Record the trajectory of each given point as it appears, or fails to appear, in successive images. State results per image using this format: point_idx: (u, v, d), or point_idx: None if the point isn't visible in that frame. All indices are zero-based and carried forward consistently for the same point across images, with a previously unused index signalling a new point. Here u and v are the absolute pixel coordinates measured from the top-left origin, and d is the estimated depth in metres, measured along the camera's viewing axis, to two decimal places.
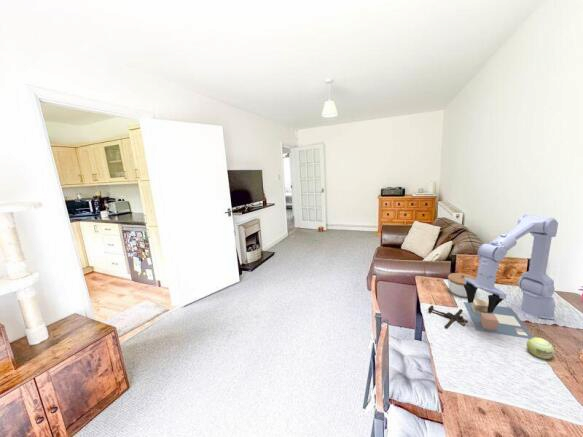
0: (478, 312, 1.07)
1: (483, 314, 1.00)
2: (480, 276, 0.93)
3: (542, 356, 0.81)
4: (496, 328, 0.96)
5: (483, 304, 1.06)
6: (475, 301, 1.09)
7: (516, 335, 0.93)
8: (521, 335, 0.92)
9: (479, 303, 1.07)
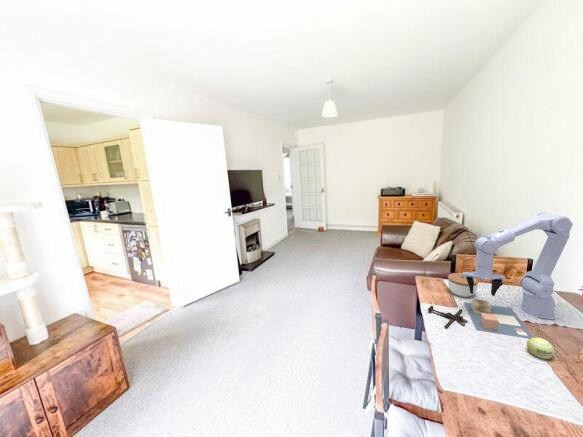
0: (478, 312, 1.07)
1: (483, 314, 1.00)
2: (485, 269, 1.02)
3: (542, 356, 0.81)
4: (496, 328, 0.96)
5: (483, 304, 1.06)
6: (475, 301, 1.09)
7: (516, 335, 0.93)
8: (521, 335, 0.92)
9: (479, 303, 1.07)
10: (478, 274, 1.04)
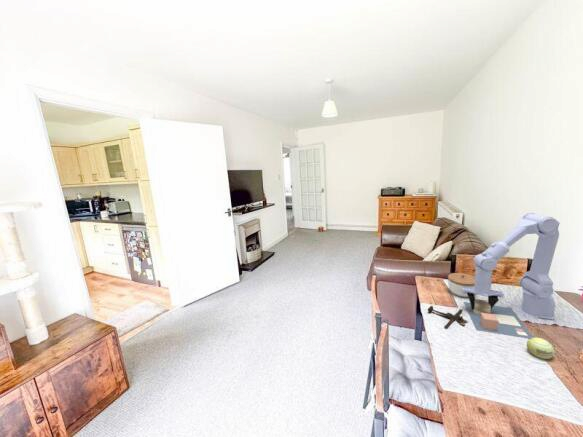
0: (478, 312, 1.07)
1: (483, 314, 1.00)
2: (484, 285, 1.04)
3: (542, 356, 0.81)
4: (496, 328, 0.96)
5: (483, 304, 1.06)
6: (475, 301, 1.09)
7: (516, 335, 0.93)
8: (521, 335, 0.92)
9: (479, 303, 1.07)
10: (477, 290, 1.06)
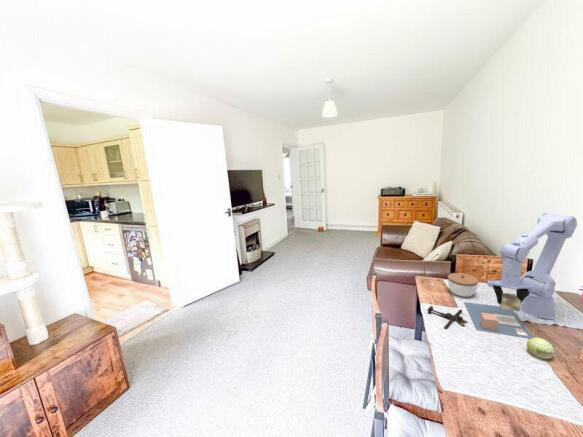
0: (506, 307, 0.98)
1: (483, 314, 1.00)
2: (513, 277, 0.95)
3: (542, 356, 0.81)
4: (496, 328, 0.96)
5: (511, 298, 0.98)
6: (502, 295, 1.01)
7: (516, 335, 0.93)
8: (521, 335, 0.92)
9: (507, 297, 0.99)
10: (505, 283, 0.98)
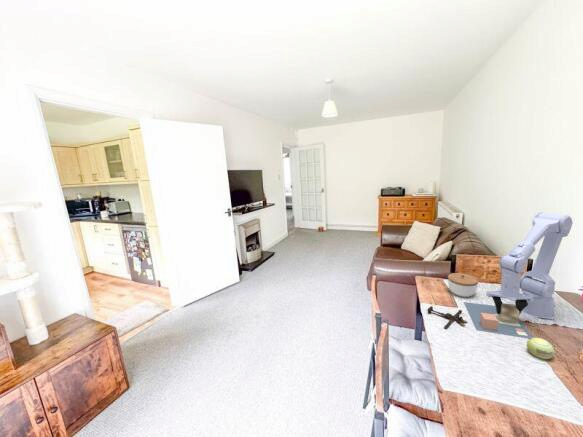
0: (505, 317, 0.99)
1: (483, 314, 1.00)
2: (512, 289, 0.96)
3: (542, 356, 0.81)
4: (496, 328, 0.96)
5: (510, 309, 0.99)
6: (501, 305, 1.02)
7: (516, 335, 0.93)
8: (521, 335, 0.92)
9: (506, 308, 1.00)
10: (504, 294, 0.99)
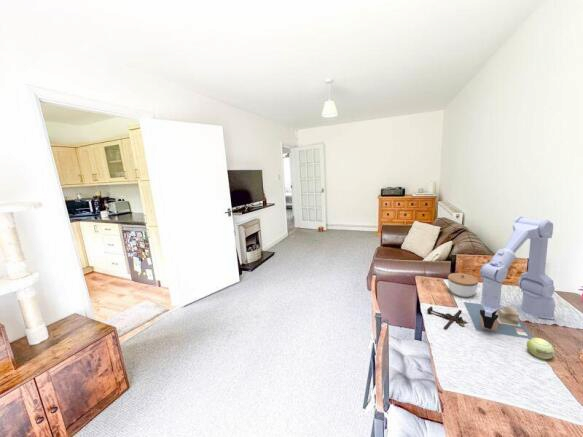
0: (505, 320, 1.00)
1: None
2: (500, 297, 0.94)
3: (542, 356, 0.81)
4: (496, 328, 0.96)
5: (510, 312, 0.99)
6: (501, 309, 1.02)
7: (516, 335, 0.93)
8: (521, 335, 0.92)
9: (506, 311, 1.00)
10: (495, 306, 0.94)
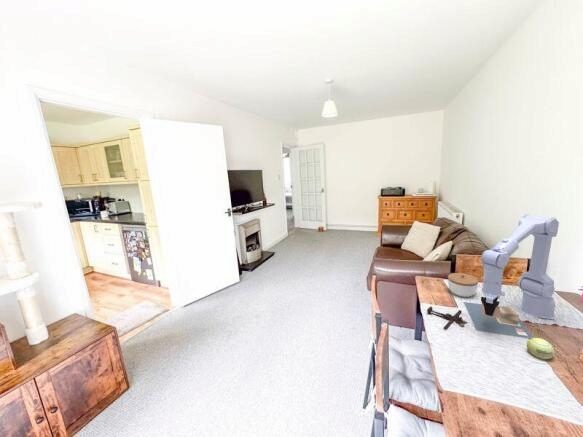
0: (505, 320, 1.00)
1: None
2: (501, 283, 0.93)
3: (542, 356, 0.81)
4: (497, 315, 0.95)
5: (510, 312, 0.99)
6: (501, 309, 1.02)
7: (516, 335, 0.93)
8: (521, 335, 0.92)
9: (506, 311, 1.00)
10: (497, 292, 0.93)
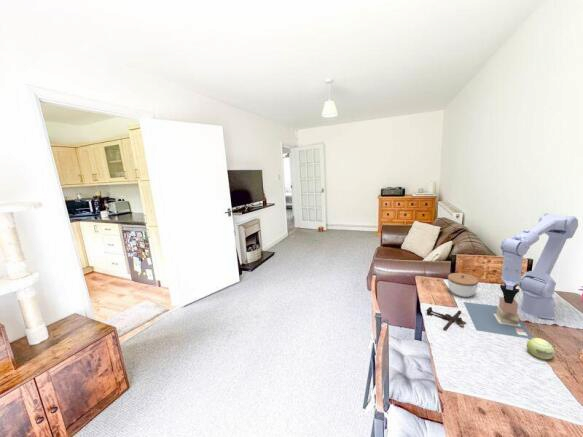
0: (505, 320, 1.00)
1: (502, 298, 1.02)
2: None
3: (542, 357, 0.81)
4: (515, 311, 0.98)
5: None
6: None
7: (516, 335, 0.93)
8: (521, 335, 0.92)
9: None
10: (516, 280, 0.95)
